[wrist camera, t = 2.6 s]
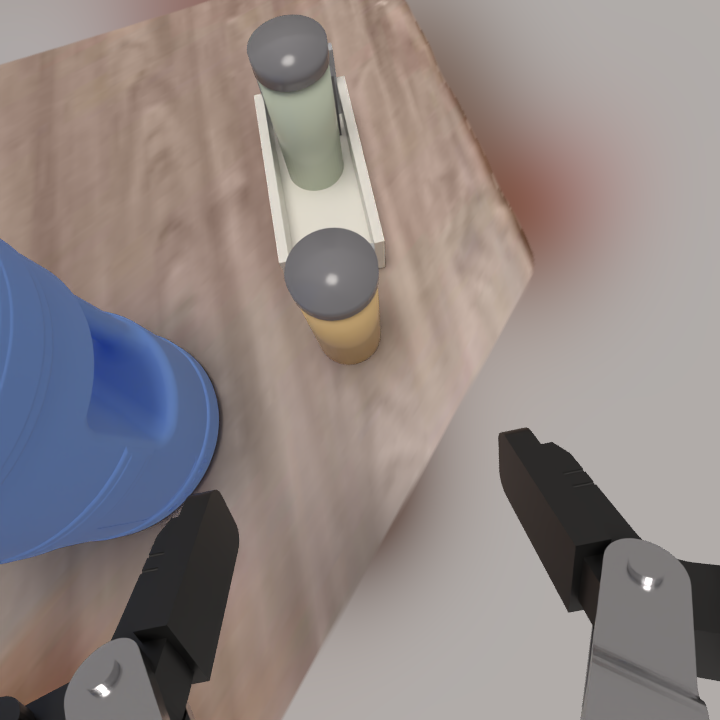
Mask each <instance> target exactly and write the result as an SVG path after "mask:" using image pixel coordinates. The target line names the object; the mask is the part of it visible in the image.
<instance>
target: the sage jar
mask: <svg viewBox="0 0 720 720" xmlns="http://www.w3.org/2000/svg"><path fill="white" fill-rule="evenodd" d="M247 54H248V57H249V60H250V63H251V66H252V69H253V72H254V75H255V77H256V79H257V80H258V82H259V85H260V88H261V91H262V94H263V97H264V100H265V103H266V106H267V109H268V112H269V115H270V118H271V121H272V124H273V127H274V130H275V133H276V136H277V139H278V142H279V145H280V148H281V151H282V154H283V157H284V160H285V163H286V166H287V169H288V172H289V175H290V178H291V180H292V181H293V183H294V184H295V185H297V186H298V187H300V188H302V189H305V190H309V191H318V190H323V189H326V188H328V187H330V186H332V185H333V184H335V183H336V182H337V181H338V180H339V178H340V177H341V175H342V173H343V169H344V162H343V155H342V148H341V142H340V135H339V128H338V121H337V114H336V107H335V101H334V94H333V87H332V80H331V73H330V66H329V60H330V58H329V49H328V42H327V36H326V33H325V30H324V29H323V27H322V26H321V25H320V24H319V23H318V22H317V21H315V20H314V19H311V18H309V17H306V16H302V15H284V16H279V17H276V18H273V19H271V20H269V21H267V22H265V23H263V24H262V25H261V26H259V27H258V28H257V29H256V30H255V31H254V32H253V34H252V35H251V37H250V39H249V41H248V45H247Z"/></svg>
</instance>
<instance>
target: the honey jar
mask: <svg viewBox="0 0 720 720" xmlns="http://www.w3.org/2000/svg"><path fill="white" fill-rule="evenodd" d="M284 276H285V282H286V285H287V288H288V290H289V292H290V294H291V296H292V297H293V299H294V301H295V302H296V304H297V305H298V306H299V308H300V309H301V311H302V313H303V314H304V316H305V318H306V320H307V322H308V324H309V326H310V328H311V329H312V331H313V333H314V335H315V337H316V339H317V341H318V343H319V344H320V346H321V348H322V350H323V352H324V353H325V354H326V355H327V356H328V357H329V358H330V359H332V360H333V361H335V362H337V363H340V364H347V365H351V364H357V363H360V362H363V361H365V360H366V359H368V358H369V357H370V356H371V355H372V354H373V353H374V352H375V351H376V349H377V347H378V345H379V342H380V337H381V331H380V315H379V298H378V284H379V268H378V259H377V256H376V253H375V251H374V249H373V247H372V246H371V244H370V243H369V242H368V241H367V240H366V239H365V238H364V237H362V236H361V235H359V234H358V233H356V232H353V231H351V230H348V229H343V228H325V229H320V230H317V231H314V232H312V233H310V234H308V235H307V236H305V237H304V238H302V239H301V240H300V241H299V242H298V243H297V244H296V245H295V246H294V247H293V248H292V250H291V251H290V253H289V255H288V257H287V260H286V263H285V269H284Z"/></svg>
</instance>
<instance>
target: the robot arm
mask: <svg viewBox="0 0 720 720" xmlns="http://www.w3.org/2000/svg"><path fill="white" fill-rule="evenodd" d="M498 441H499V472H500V478H501V483H502V486H503V489H504V492H505V494H506V496H507V498H508V499H509V502H510V503H511V505H512V507H513V509H514V511H515V513H516V515H517V516H518V519H519V520H520V522H521V524H522V526H523V528H524V530H525V531H526V534H527V536H528V537H529V539H530V541H531V543H532V545H533V547H534V549H535V550H536V552H537V554H538V556H539V558H540V560H541V562H542V564H543V566H544V567H545V569H546V571H547V573H548V575H549V577H550V579H551V580H552V582H553V584H554V586H555V588H556V590H557V592H558V594H559V595H560V597H561V599H562V601H563V603H564V605H565V607H566V609H567V611H568V612H574V611H579V610H584V611H585V613H586V614H587V616H588V618H589V620H590V621H591V623H592V632H591V640H590V648H589V657H588V665H587V672H586V682H585V688H584V697H583V704H582V712H581V720H709V715H708V711H707V707H706V704H705V702H704V701H702V700H701V699H700V697H699V694H698V688H697V677H700V678H705V679H711V680H716V681H720V565H710V564H701V563H692V562H687V561H683V560H679V559H676V558H675V557H674V556H673V555H672V554H670V553H669V552H668V551H666V550H665V549H663V548H661V547H660V546H657V545H655V544H653V543H651V542H647V541H644V540H642V539H641V538H640V537H639V536H638V535H637V534H636V533H635V531H634V530H633V529H632V528H631V527H630V525H629V524H628V523H627V522H626V521H625V519H624V518H623V517H622V516H621V515H620V513H619V512H618V511H617V510H616V508H615V507H614V506H613V505H612V503H611V502H610V501H609V500H608V499H607V497H606V496H605V495H604V494H603V493H602V491H601V490H600V489H599V488H598V487H597V485H594V483H593V480H592V479H591V478H590V477H589V475H588V474H587V473H586V472H584V471H583V468H582V467H581V466H580V465H579V463H578V462H577V461H576V460H575V459H574V457H573V456H572V455H571V454H570V453H569V452H567V451H566V450H564V449H562V448H561V447H559V446H557V445H556V444H554V443H553V442H550V443H545V444H540V442H539V441H538V440H537V438H536V437H535V436H534V434H533V433H532V432H531V430H530V429H529V428H521V429H516V430H511V431H507V432H502V433H499V437H498ZM238 548H239V533H238V528H237V525H236V523H235V521H234V519H233V517H232V515H231V513H230V511H229V509H228V507H227V505H226V503H225V501H224V499H223V497H222V495H221V493H220V492H219V491H218V490H212V491H208V492H203V493H198V494H193V495H189V496H188V497H187V498H186V500H185V503H184V505H183V508H182V510H181V512H180V515H179V517H176V518H171V520H170V521H169V522H168V523H167V525H166V526H165V527H164V528H163V529H162V531H161V532H160V533H159V534H158V536H157V538H156V540H155V542H154V544H153V547H152V549H151V551H150V553H149V558H147V560H146V563H145V565H144V567H143V569H142V574H140V576H139V578H138V581H137V583H136V585H135V588H134V590H133V592H132V594H131V597H130V599H129V601H128V603H127V606H126V608H125V610H124V613H123V615H122V617H121V619H120V622H119V624H118V626H117V629H116V631H115V633H114V635H113V637H112V639H111V641H110V642H108V643H106V644H104V645H102V646H101V647H100V648H98V649H97V650H95V651H94V652H93V653H92V654H91V655H90V656H89V657H88V658H87V659H86V660H85V661H84V662H83V663H82V664H81V666H80V667H79V668H78V670H77V671H76V672H75V674H74V676H73V677H72V679H71V681H70V682H69V683H67V684H65V685H63V686H62V687H60V688H58V689H56V690H54V691H52V692H50V693H48V694H46V695H44V696H43V697H41V698H39V699H37V700H35V701H33V702H31V703H29V704H27V705H26V706H24V705H23V704H22V703H20V702H19V701H18V700H17V699H15V698H13V697H9V696H5V697H0V720H195V718H194V715H193V712H192V710H191V707H190V706H189V704H188V702H187V700H188V696H189V692H190V688H191V684H195V683H200V682H205V681H210V676H211V672H212V667H213V662H214V658H215V653H216V649H217V644H218V640H219V635H220V630H221V626H222V621H223V617H224V612H225V608H226V603H227V598H228V594H229V589H230V585H231V580H232V576H233V571H234V567H235V562H236V557H237V553H238Z"/></svg>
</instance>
